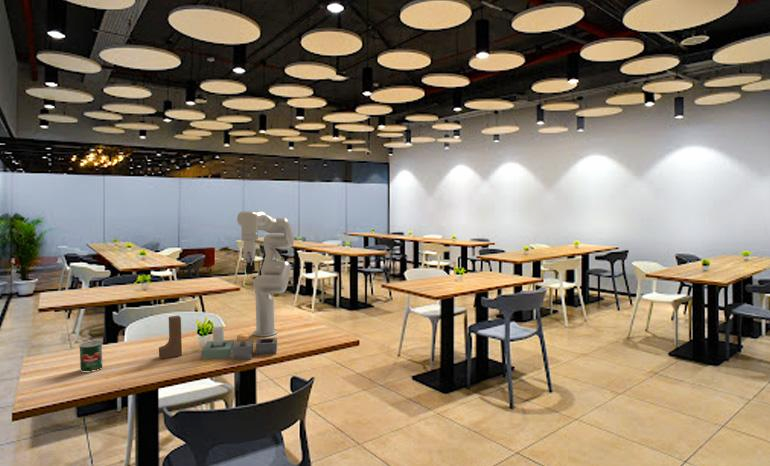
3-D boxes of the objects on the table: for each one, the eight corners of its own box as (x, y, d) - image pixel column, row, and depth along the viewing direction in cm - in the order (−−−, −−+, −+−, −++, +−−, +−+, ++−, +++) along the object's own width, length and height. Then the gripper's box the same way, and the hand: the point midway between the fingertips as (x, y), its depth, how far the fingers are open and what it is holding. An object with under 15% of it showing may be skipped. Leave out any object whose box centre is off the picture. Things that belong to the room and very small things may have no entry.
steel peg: (215, 352, 215) (214, 327, 214) (223, 351, 216) (223, 326, 215) (213, 355, 211) (212, 329, 210) (222, 354, 212) (222, 329, 211)
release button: (238, 353, 211) (237, 334, 210) (249, 352, 212) (249, 333, 211) (236, 357, 206) (236, 337, 205) (248, 356, 207) (247, 336, 206)
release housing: (235, 354, 212) (235, 341, 212) (253, 353, 213) (253, 340, 213) (232, 360, 204) (232, 347, 204) (251, 359, 206) (251, 346, 205)
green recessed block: (208, 349, 219) (207, 341, 219) (234, 348, 221) (233, 339, 221) (201, 359, 206) (201, 350, 205) (229, 357, 208) (229, 348, 207)
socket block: (257, 348, 220) (257, 338, 220) (277, 347, 222) (276, 337, 221) (256, 355, 211) (255, 344, 211) (276, 353, 213) (275, 343, 212)
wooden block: (160, 359, 205) (159, 319, 204) (158, 356, 209) (157, 317, 208) (182, 355, 211) (180, 317, 209) (180, 353, 214) (178, 315, 213)
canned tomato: (86, 374, 188) (85, 347, 187) (76, 370, 192) (75, 344, 191) (106, 368, 194) (105, 342, 194) (96, 364, 198) (95, 340, 198)
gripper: (243, 236, 230) (244, 270, 231) (239, 238, 213) (240, 275, 214) (259, 236, 232) (259, 269, 233) (255, 238, 215) (256, 274, 216)
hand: (250, 272), depth 224 cm, fingers open, 9 cm apart
